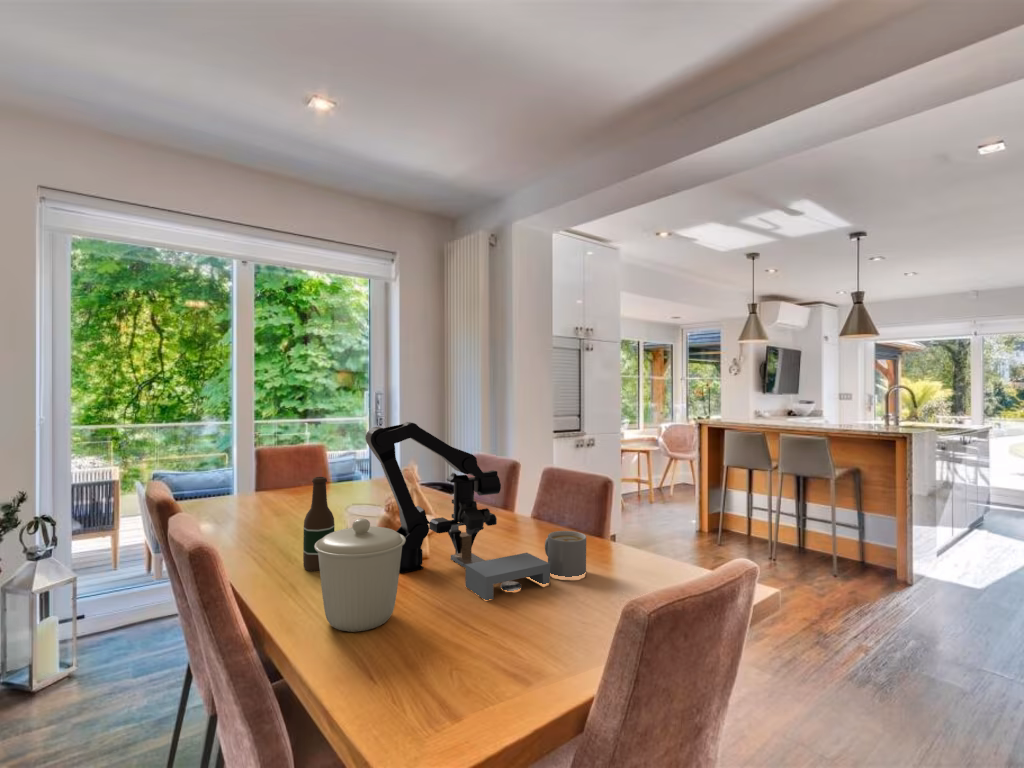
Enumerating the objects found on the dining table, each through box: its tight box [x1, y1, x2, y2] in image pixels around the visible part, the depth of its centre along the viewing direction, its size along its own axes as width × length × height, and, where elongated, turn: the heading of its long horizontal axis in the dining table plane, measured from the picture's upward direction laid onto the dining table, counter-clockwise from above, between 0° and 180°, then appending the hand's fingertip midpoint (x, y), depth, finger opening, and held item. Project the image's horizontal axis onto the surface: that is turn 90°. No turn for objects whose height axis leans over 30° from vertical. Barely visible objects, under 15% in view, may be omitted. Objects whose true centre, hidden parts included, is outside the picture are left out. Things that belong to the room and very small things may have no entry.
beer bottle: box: [302, 476, 336, 572], centre depth 141 cm, size 8×8×24 cm
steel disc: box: [500, 580, 522, 591], centre depth 127 cm, size 5×5×1 cm
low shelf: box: [464, 552, 551, 600], centre depth 128 cm, size 18×10×6 cm, turn 122°
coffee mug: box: [544, 530, 587, 577], centre depth 138 cm, size 13×10×10 cm
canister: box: [314, 517, 406, 633], centre depth 109 cm, size 18×18×21 cm
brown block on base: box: [450, 531, 486, 569], centre depth 142 cm, size 6×18×7 cm, turn 33°
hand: (463, 552), depth 148 cm, fingers closed on brown block on base, 3 cm apart
